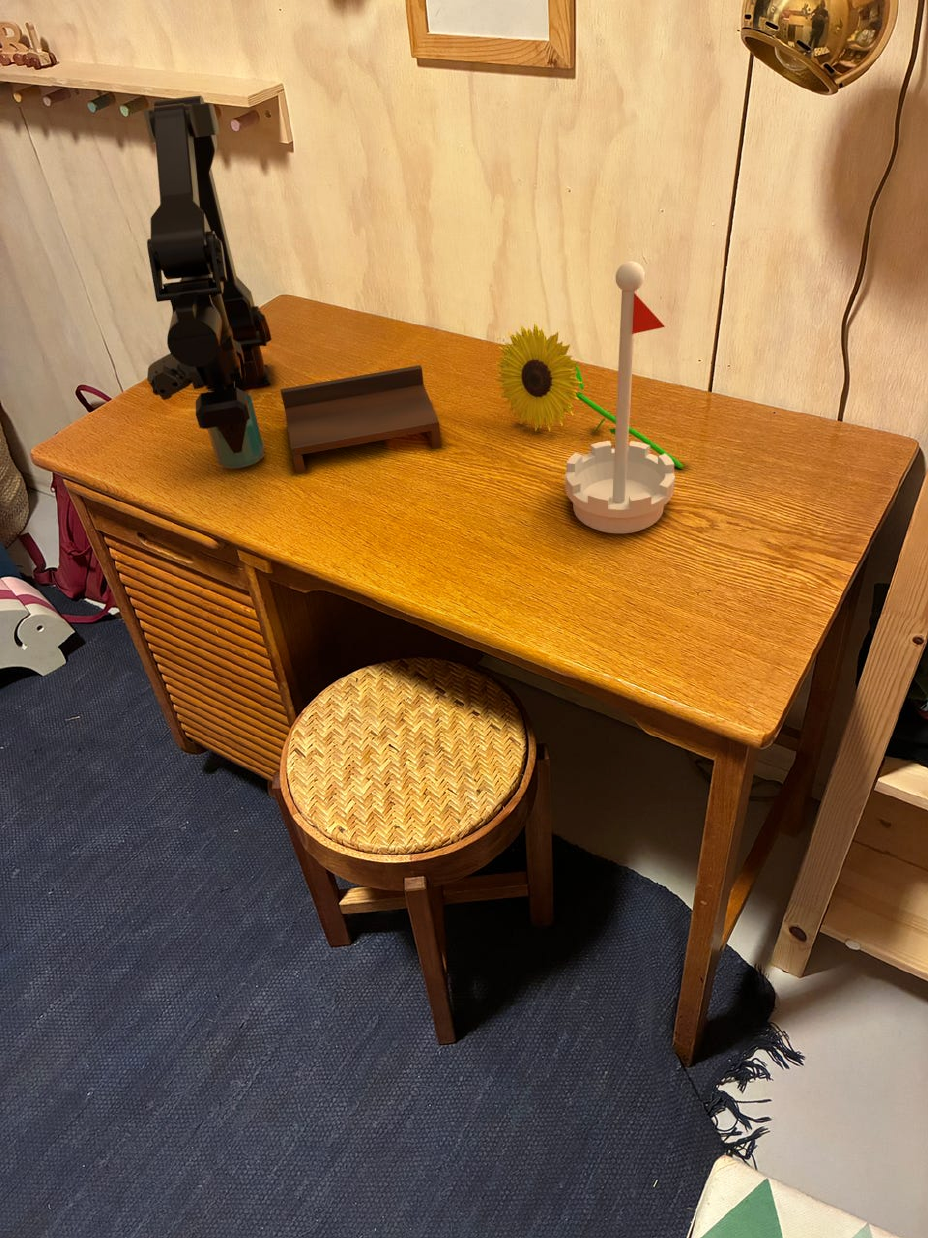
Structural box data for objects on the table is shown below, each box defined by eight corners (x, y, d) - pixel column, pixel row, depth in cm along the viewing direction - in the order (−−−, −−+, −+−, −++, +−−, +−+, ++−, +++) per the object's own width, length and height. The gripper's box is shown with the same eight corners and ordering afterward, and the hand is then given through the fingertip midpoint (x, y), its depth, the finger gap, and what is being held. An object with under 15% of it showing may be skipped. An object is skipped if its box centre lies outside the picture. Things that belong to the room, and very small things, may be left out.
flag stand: (543, 504, 114) (538, 264, 94) (618, 464, 119) (630, 228, 99) (617, 552, 106) (630, 301, 86) (695, 507, 111) (724, 260, 91)
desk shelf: (289, 429, 132) (280, 388, 128) (425, 405, 134) (420, 364, 130) (296, 474, 123) (286, 431, 119) (441, 447, 125) (437, 404, 121)
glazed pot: (216, 446, 128) (201, 395, 122) (263, 438, 128) (250, 386, 123) (217, 472, 123) (201, 419, 117) (266, 463, 123) (252, 410, 118)
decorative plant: (714, 417, 113) (533, 295, 123) (692, 430, 110) (507, 303, 119) (664, 506, 123) (501, 387, 133) (642, 521, 120) (475, 397, 129)
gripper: (143, 309, 119) (177, 415, 130) (137, 374, 106) (175, 487, 116) (228, 295, 120) (255, 401, 131) (233, 358, 107) (263, 471, 117)
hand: (236, 438), depth 124 cm, fingers closed on glazed pot, 6 cm apart
